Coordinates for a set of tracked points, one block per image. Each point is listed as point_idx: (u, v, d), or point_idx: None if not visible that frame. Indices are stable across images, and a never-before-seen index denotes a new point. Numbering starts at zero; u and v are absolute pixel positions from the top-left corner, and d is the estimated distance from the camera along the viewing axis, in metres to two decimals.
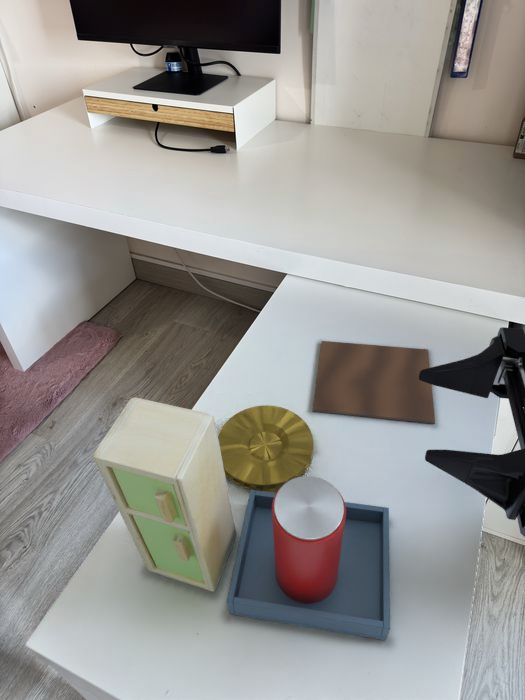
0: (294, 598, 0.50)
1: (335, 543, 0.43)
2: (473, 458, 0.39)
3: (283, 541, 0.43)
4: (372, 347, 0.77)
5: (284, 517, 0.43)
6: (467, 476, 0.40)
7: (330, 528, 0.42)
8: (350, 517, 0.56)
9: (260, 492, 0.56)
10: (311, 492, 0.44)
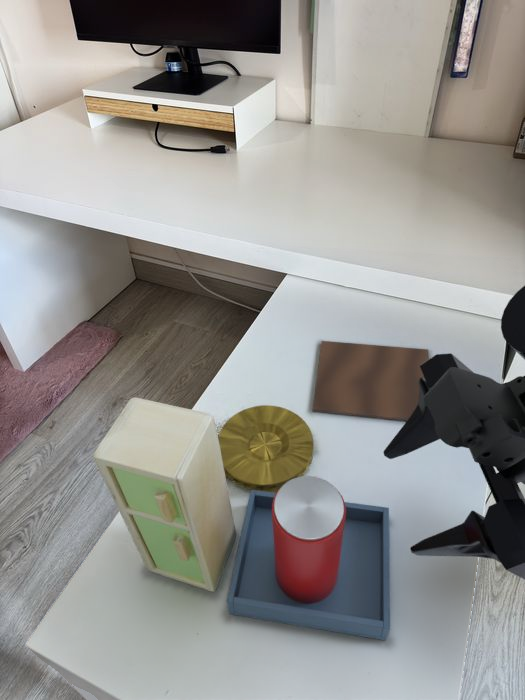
0: (294, 598, 0.50)
1: (335, 543, 0.43)
2: (444, 539, 0.37)
3: (283, 541, 0.43)
4: (372, 347, 0.77)
5: (284, 517, 0.43)
6: (458, 552, 0.38)
7: (330, 528, 0.42)
8: (350, 517, 0.56)
9: (260, 492, 0.56)
10: (311, 492, 0.44)
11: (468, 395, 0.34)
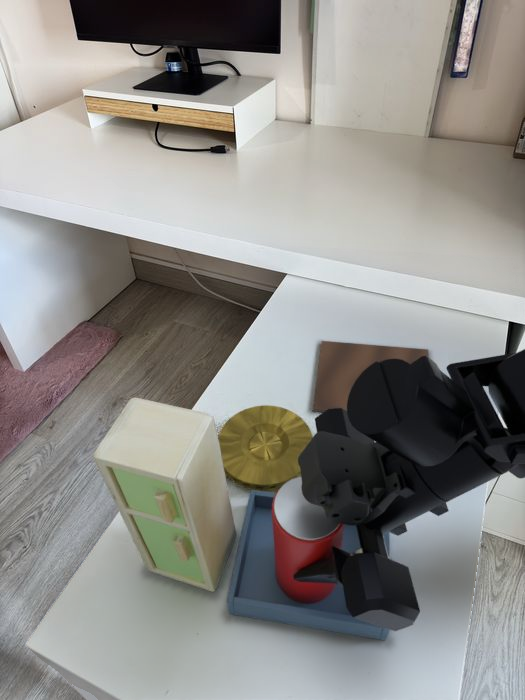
0: (294, 598, 0.50)
1: (335, 543, 0.43)
2: (316, 569, 0.43)
3: (282, 541, 0.43)
4: (372, 347, 0.77)
5: (284, 517, 0.43)
6: (330, 580, 0.43)
7: (330, 528, 0.42)
8: None
9: (260, 492, 0.56)
10: None
11: (327, 459, 0.38)
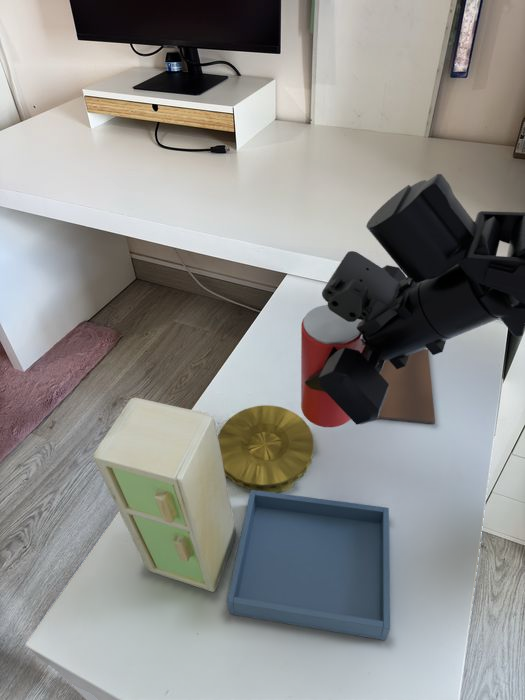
0: (307, 416, 0.58)
1: None
2: (320, 371, 0.51)
3: (302, 342, 0.52)
4: None
5: (309, 322, 0.51)
6: None
7: (340, 339, 0.49)
8: (350, 517, 0.56)
9: (260, 492, 0.56)
10: None
11: (348, 267, 0.46)
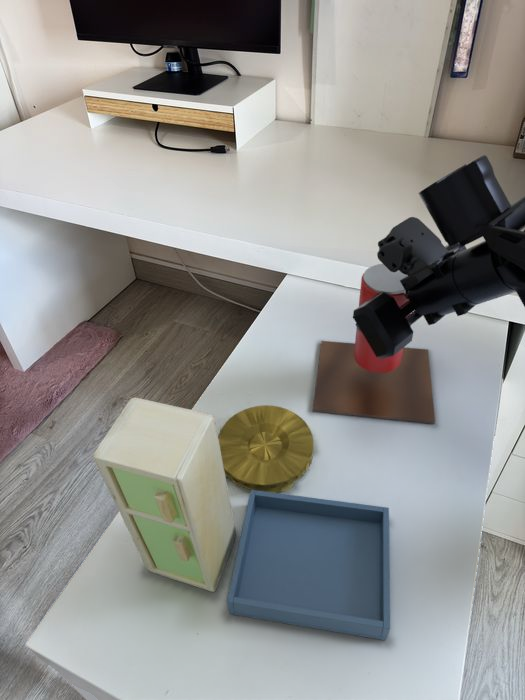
0: (355, 358, 0.68)
1: None
2: None
3: (360, 289, 0.62)
4: None
5: (369, 273, 0.61)
6: None
7: (388, 290, 0.58)
8: (350, 517, 0.56)
9: (260, 492, 0.56)
10: (397, 274, 0.61)
11: (404, 228, 0.55)
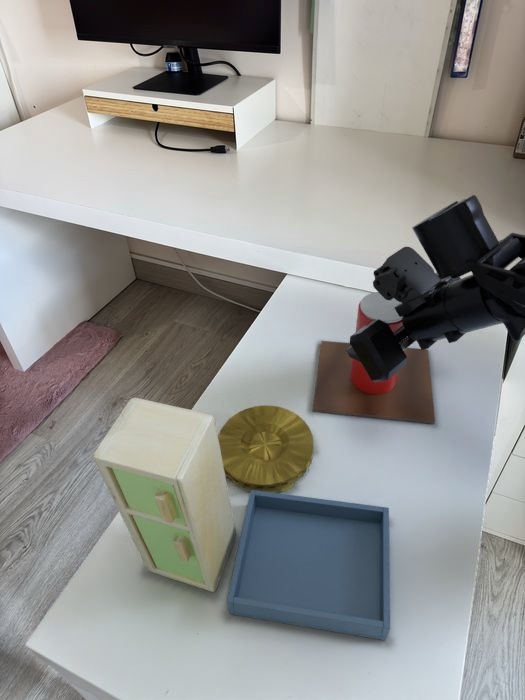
0: (352, 379, 0.71)
1: None
2: None
3: (357, 316, 0.65)
4: None
5: (366, 301, 0.64)
6: None
7: (383, 319, 0.61)
8: (350, 517, 0.56)
9: (260, 492, 0.56)
10: (393, 302, 0.64)
11: (399, 258, 0.57)
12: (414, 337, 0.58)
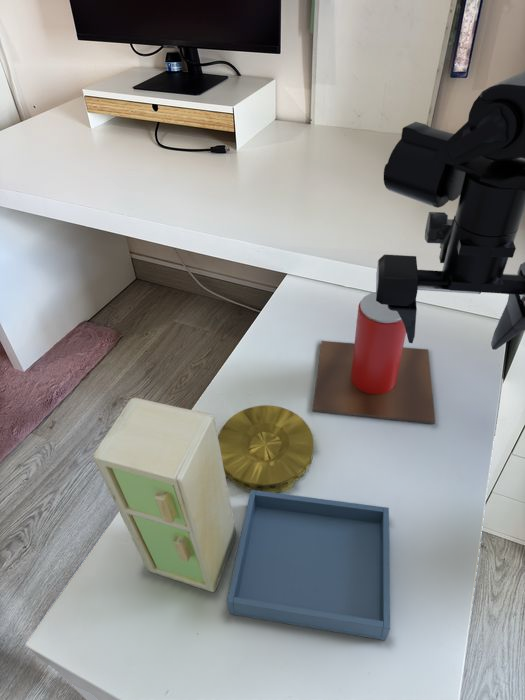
0: (352, 379, 0.71)
1: (383, 335, 0.62)
2: None
3: (357, 316, 0.65)
4: None
5: (366, 301, 0.64)
6: None
7: (383, 319, 0.61)
8: (350, 517, 0.56)
9: (260, 492, 0.56)
10: None
11: None
12: (445, 277, 0.51)
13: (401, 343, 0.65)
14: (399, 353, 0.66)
